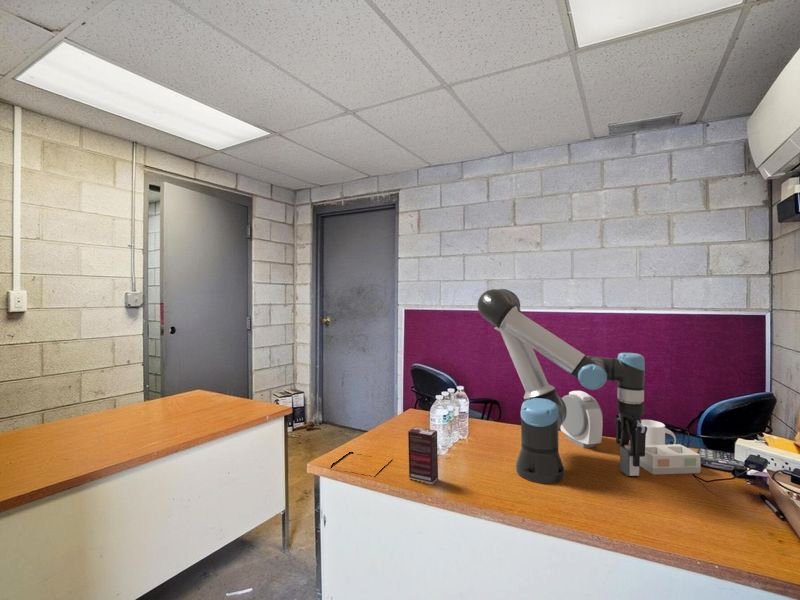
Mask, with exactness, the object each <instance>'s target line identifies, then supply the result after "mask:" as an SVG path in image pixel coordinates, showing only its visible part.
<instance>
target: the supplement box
mask: <svg viewBox="0 0 800 600" xmlns="http://www.w3.org/2000/svg"><path fill="white" fill-rule="evenodd" d="M407 433H408V434H407V437H408V440H407V441H408V442H407V443H408V477H409V478H411V479H415V480H419V481H423V482H427V483H430V484H429V485H431V484H433V483H434V482H435V481H436V480H437V479H438V480H439V463H438V462H439V459H438V458H439V457H438V456H439V454H438V453H439V451H438V430H434V429H427V428H421V427H415V426H414V427H412V428H411V429H409V430H408V431H407ZM438 480H437V481H438ZM437 481H436V482H437ZM423 482H422V483H423ZM436 482H435V483H436ZM427 483H426V484H427ZM435 483H434V484H435ZM434 484H433V485H434Z"/></svg>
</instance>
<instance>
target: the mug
mask: <svg viewBox="0 0 800 600" xmlns="http://www.w3.org/2000/svg"><path fill="white" fill-rule="evenodd" d="M641 424H642V426H646V427H647V432H646V441H645V445H666V434H668V435H670V436H672V437H673V441H674V442H673V444H677V443H676V442H677V437H676V435H675V433H674V432H673V431H671V430H670V429H668V428H667V427H666V424H664V423H663V422H660V421H657V420H652V419H641Z"/></svg>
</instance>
